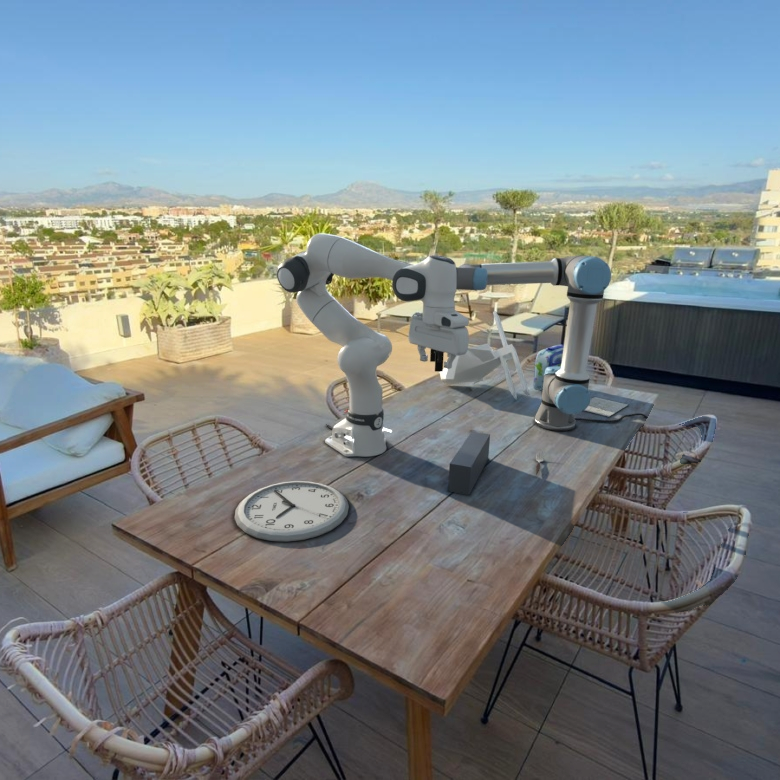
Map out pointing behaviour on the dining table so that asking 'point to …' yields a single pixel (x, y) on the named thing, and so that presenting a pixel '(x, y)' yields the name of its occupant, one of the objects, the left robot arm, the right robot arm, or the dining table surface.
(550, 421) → the right robot arm
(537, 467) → the fork
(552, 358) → the lunch box
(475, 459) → the box
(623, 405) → the invitation card
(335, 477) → the dining table surface
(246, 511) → the wall clock
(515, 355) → the white plastic object
